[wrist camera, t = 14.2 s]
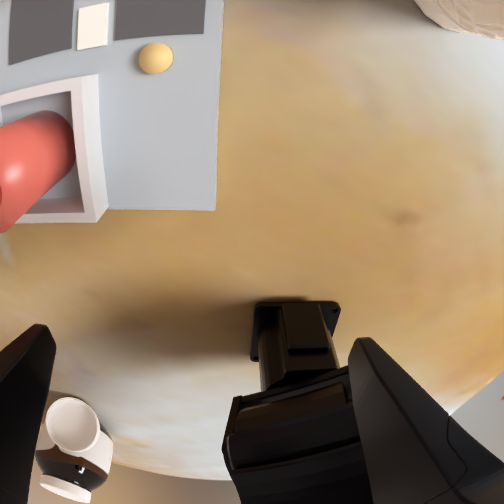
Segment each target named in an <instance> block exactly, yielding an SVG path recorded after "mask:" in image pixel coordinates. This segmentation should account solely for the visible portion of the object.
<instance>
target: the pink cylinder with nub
mask: <svg viewBox="0 0 504 504" xmlns="http://www.w3.org/2000/svg"><path fill="white" fill-rule="evenodd" d="M75 159H76V150H75V141H74V131H73V129H72V127H71V125H70V124H69V123H68V121H67V120H66V119H65V118H64V117H63V116H61V115H60V114H58V113H56V112H54V111H49V110H43V111H38V112H35V113H33V114H30V115H28V116H25V117H23V118H21V119H18V120H16V121H14V122H11V123H9V124H7V125H5V126H2V127H0V233H3V232H5V231H7V230H8V229H9V228H10V227H11V226H12V225H13V224H14V223H15V222H16V221H17V220H18V219H19V218H20V217H21V216H22V215H23V214H24V213H25V212H26V211H27V210H29V209H30V208H31V207H32V206H33V205H34V204H35V203H36V202H37V201H38V200H39V199H40V198H41V197H42V196H43V195H45V194H46V193H47V192H48V191H49V190H50V189H51V188H52V187H53V186H55V185H56V184H57V183H58V182H59V181H60V180H61V179H63V178H64V177H65V176H66V175H67V174H68V173H69V172H70V170H71V169H72V167H73V165H74V162H75Z"/></svg>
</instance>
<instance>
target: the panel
mask: <svg viewBox="0 0 504 504" xmlns="http://www.w3.org/2000/svg"><path fill="white" fill-rule="evenodd" d="M223 15H224V0H0V127H2V126H5V125H7V124H9V123H11V122H14V121H16V120H18V119H21V118H23V117H25V116H28V115H30V114H33V113H35V112H38V111H43V110H49V111H54V112H56V113H58V114H60V115H61V116H63V117H64V118H65V119H66V120H67V121H68V123H69V124H70V125H71V127H72V129H73V131H74V141H75V150H76V159H75V162H74V165H73V167H72V169H71V170H70V172H69V173H68V174H67V175H66V176H65V177H64V178H63V179H61V180H60V181H59V182H58V183H57V184H56V185H55V186H53V187H52V188H51V189H50V190H49V191H48V192H47V193H46V194H45V195H43V196H42V197H41V198H40V199H39V200H38V201H37V202H36V203H35V204H34V205H33V206H32V207H31V208H30V209H29V210H27V211H26V212H25V213H24V214H23V215H22V216H21V217H20V218H19V219H18V220H17V221H16V222H15V223H97V221H98V220H99V219H100V217H101V216H102V215H103V213H104V212H105V211H106V210H212V211H215V206H216V194H217V145H218V113H219V88H220V66H221V47H222V30H223Z"/></svg>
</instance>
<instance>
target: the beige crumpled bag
mask: <svg viewBox="0 0 504 504" xmlns="http://www.w3.org/2000/svg"><path fill="white" fill-rule="evenodd" d="M414 1H415V2H416V3H417V5H418V6H419V7H420V9H421V10H422V11H423V13H424V14H425V15H426V16H427V17H429V18H430V19H432V20H433V21H434V22H436V23H437V24H439V25H440V26H441V27H443V28H444V29H447V30H452V31H456V32H460V33H464V34H475V35H479V36H483V37H488V38H494V39H500V40H504V0H414Z"/></svg>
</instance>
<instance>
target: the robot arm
mask: <svg viewBox="0 0 504 504" xmlns="http://www.w3.org/2000/svg"><path fill="white" fill-rule="evenodd" d="M334 308H336V309H334ZM259 309H263V310H259ZM332 309H334V310H332ZM340 311H341V308H340V305H339V304H338V303H336V302H315V303H283V302H260V303H257V304H256V305H255V307H254V316H253V328H252V339H251V350H250V359H251V361H253V362H259V368H260V382H261V392H258V393H254V394H250V395H246V396H237V397H234V398H233V401H232V405H231V410H230V414H229V418H228V422H227V426H226V430H225V435H224V439H223V444H222V453H223V455H224V460H225V464H226V467H227V469H228V472H229V474H230V476H231V478H232V480H233V482H234V484H235V486H236V489H237V491H238V494H239V497H240V500H241V504H504V463H503V462H502V461H501V460H500V459H498V458H497V457H496V456H495V455H493V454H492V453H491V452H490V451H489V450H487V449H486V448H485V447H484V446H483V445H481V444H480V443H479V442H478V441H477V440H475V439H474V438H473V437H472V436H471V435H470V434H468V433H467V432H466V431H465V430H464V429H463V428H462V427H461V426H460V425H459V424H458V423H457V422H456V421H455V420H454V419H453V418H452V417H451V416H449V414H448V413H447V412H446V411H445V410H444V409H443V408H442V407H441V406H440V405H439V404H438V403H437V402H436V401H435V400H434V399H433V398H432V397H431V396H430V395H429V394H428V393H427V392H426V391H425V390H424V389H423V388H422V387H421V386H420V385H419V384H418V383H417V382H416V381H415V380H414V379H413V378H412V377H411V376H410V375H409V374H408V373H407V372H406V371H405V370H404V369H403V368H402V367H401V366H400V365H399V364H398V363H396V362H395V361H394V360H393V359H392V358H391V357H390V356H389V355H388V354H387V353H386V352H385V351H384V350H383V349H382V348H381V347H380V346H379V345H378V344H377V343H376V342H375V341H374V340H373V339H372V338H370V337H361V338H357V339H356V340H355V342H354V344H353V347H352V349H351V351H350V354H349V357H348V365H347V366H344V367H341V368H340V365H339V362H338V358H337V355H336V351H335V348H334V344H333V341H332V336H333V333H334V330H335V327H336V324H337V321H338V318H339V315H340ZM55 354H56V343H55V341H54V339H53V337H52V335H51V332H50V330H49V328H48V327H47V326H46V325H43V324H34V325H32V326H31V327H30V328H29V329H27V330H26V331H25V332H24V333H22V334H21V335H20V336H19V337H17V338H16V339H15V340H14V341H12V342H11V343H10V344H9V345H8V346H6V347H5V348H4V349H3V350H2V351H0V504H27V502H28V493H29V485H30V479H31V472H32V466H33V459H34V454H35V449H36V444H37V439H38V434H39V430H40V425H41V421H42V417H43V412H44V408H45V404H46V400H47V396H48V392H49V387H50V381H51V375H52V370H53V364H54V359H55Z"/></svg>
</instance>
